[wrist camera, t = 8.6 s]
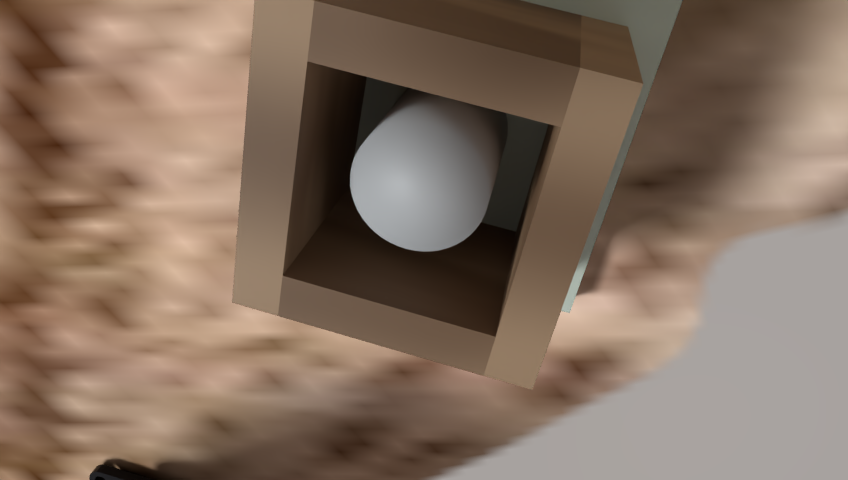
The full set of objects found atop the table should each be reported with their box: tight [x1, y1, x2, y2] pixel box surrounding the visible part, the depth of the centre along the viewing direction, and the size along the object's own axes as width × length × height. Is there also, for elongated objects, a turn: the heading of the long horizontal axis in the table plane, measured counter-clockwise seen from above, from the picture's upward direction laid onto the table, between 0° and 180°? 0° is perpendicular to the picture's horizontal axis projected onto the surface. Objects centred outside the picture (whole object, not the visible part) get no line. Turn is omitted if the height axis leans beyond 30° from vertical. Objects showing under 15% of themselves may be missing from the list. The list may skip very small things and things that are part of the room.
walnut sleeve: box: [232, 0, 643, 390], centre depth 16 cm, size 7×7×5 cm
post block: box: [349, 0, 683, 313], centre depth 17 cm, size 9×9×5 cm
